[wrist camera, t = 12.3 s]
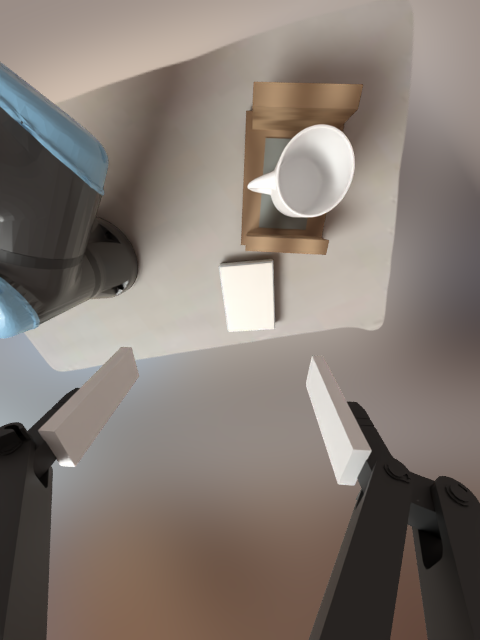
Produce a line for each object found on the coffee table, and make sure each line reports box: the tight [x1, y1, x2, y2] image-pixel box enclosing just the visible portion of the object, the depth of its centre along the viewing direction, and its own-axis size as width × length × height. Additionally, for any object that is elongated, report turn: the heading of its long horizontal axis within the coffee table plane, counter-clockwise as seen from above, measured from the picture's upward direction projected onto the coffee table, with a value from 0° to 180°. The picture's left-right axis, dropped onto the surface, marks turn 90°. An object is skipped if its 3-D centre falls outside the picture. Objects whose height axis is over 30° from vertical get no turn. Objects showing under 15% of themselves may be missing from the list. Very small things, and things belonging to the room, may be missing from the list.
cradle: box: [241, 82, 363, 255], centre depth 30 cm, size 14×18×8 cm
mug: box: [247, 124, 355, 217], centre depth 28 cm, size 9×12×11 cm
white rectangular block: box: [219, 259, 275, 332], centre depth 42 cm, size 10×14×3 cm
